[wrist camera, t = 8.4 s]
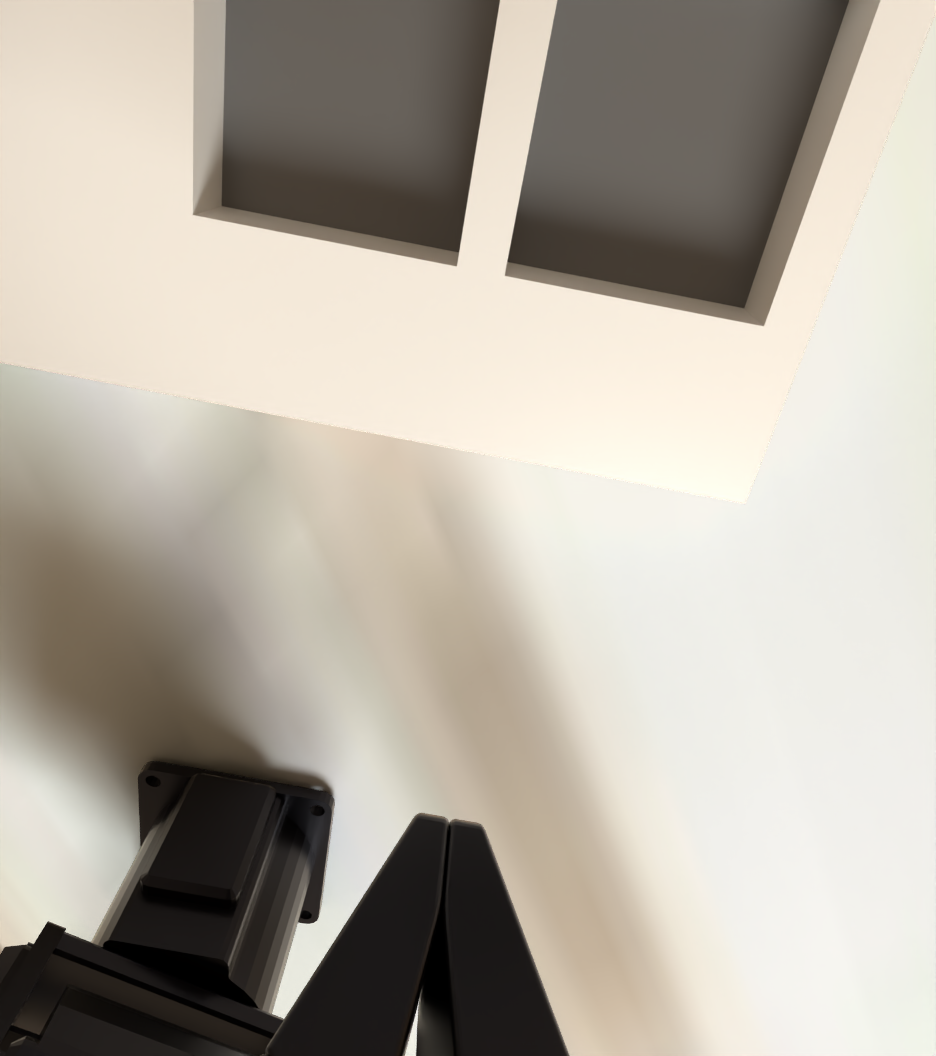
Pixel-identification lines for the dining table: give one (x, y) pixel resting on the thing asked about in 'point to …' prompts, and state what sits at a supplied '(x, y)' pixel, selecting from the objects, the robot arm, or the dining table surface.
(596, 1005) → the dining table surface
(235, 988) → the robot arm
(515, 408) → the board
